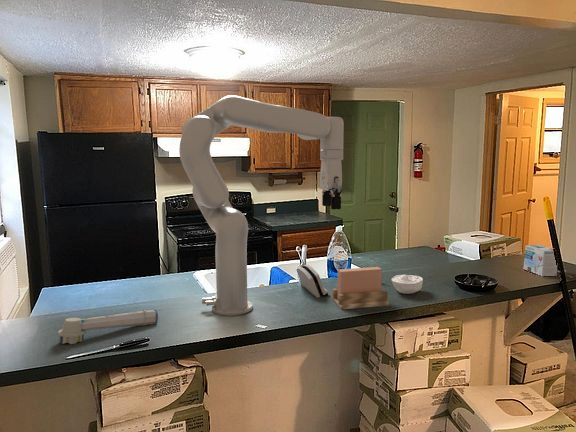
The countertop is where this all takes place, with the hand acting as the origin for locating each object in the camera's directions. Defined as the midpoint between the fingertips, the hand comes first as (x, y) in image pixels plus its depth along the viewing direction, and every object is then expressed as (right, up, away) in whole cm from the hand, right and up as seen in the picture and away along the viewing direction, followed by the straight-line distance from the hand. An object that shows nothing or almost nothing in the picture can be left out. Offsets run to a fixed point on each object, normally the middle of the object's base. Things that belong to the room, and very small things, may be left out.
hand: (331, 207), depth 144 cm
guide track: (+9, -31, -3) cm, 32 cm away
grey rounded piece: (-6, -30, +10) cm, 32 cm away
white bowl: (+27, -30, +7) cm, 41 cm away
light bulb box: (+87, -26, +30) cm, 95 cm away
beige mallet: (-63, -35, -26) cm, 76 cm away
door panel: (+9, -30, -3) cm, 31 cm away
